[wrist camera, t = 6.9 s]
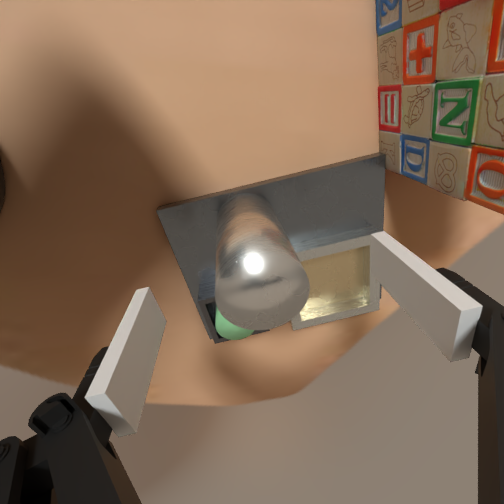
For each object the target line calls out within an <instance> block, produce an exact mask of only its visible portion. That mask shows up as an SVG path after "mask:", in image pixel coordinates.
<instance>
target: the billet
mask: <svg viewBox="0 0 504 504" xmlns="http://www.w3.org/2000/svg"><path fill="white" fill-rule="evenodd" d="M309 292H310V284H309V279H308V276H307V274H306V272H305V270H304V268H303V266H302V264H301V262H300V260H299V258H298V257H297V255H296V253H295V251H294V249H293V247H292V245H291V243H290V241H289V239H288V237H287V235H286V233H285V231H284V229H283V227H282V225H281V223H280V221H279V220H278V218H277V216H276V214H275V212H274V210H273V208H272V206H271V205H270V204H269V202H268V201H267V200H265V199H264V198H263V197H261V196H258V195H256V194H250V193H243V194H238V195H235V196H233V197H231V198H230V199H228V200H227V201H226V202H225V203H224V204H223V205H222V207H221V208H220V210H219V212H218V216H217V232H216V274H215V301H216V305H217V308H218V310H219V311H220V313H221V314H222V316H223V317H224V318H225V319H226V320H228V321H229V322H230V323H232V324H233V325H236V326H238V327H241V328H244V329H248V330H267V329H272V328H275V327H278V326H281V325H283V324H285V323H287V322H289V321H290V320H292V319H293V318H294V317H295V316H297V315H298V314H299V313H300V311H301V310H302V309H303V308H304V306H305V304H306V302H307V300H308V297H309Z"/></svg>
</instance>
